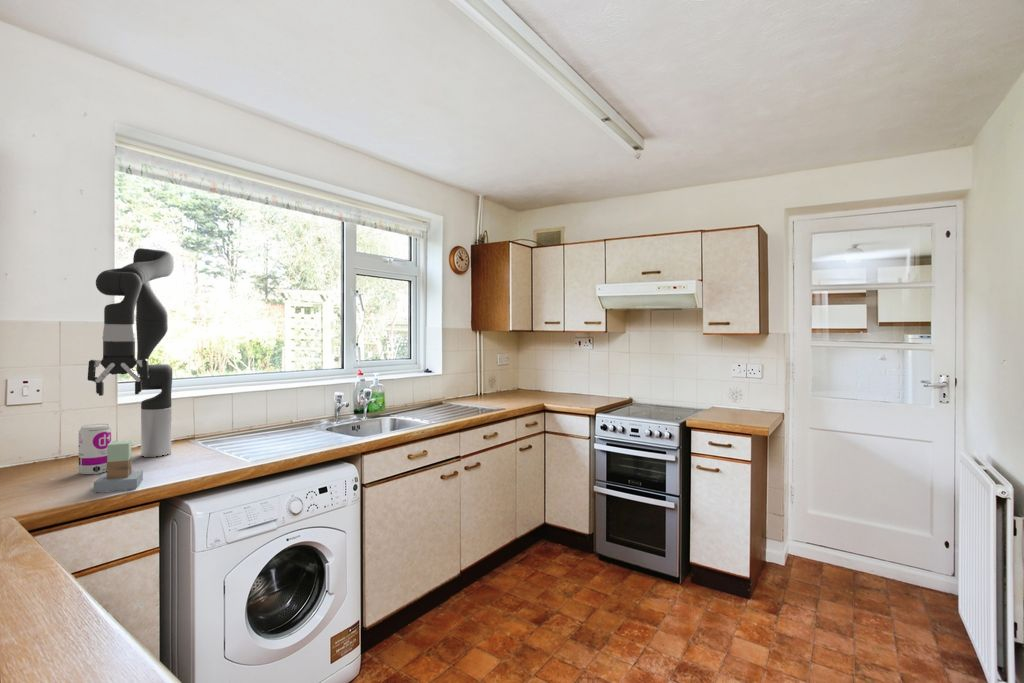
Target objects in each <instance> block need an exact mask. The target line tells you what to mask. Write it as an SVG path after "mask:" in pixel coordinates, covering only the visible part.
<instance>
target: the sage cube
mask: <svg viewBox="0 0 1024 683" xmlns="http://www.w3.org/2000/svg"><path fill="white" fill-rule="evenodd" d="M130 458H131V459H132V440H131V439H129V440H128V439H127V440H126V439H125V440H117V441H116V440H115V441H112V440H111V442H110V443H109V444H108V445H107V462H116V461H127V460H129V459H130Z"/></svg>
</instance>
